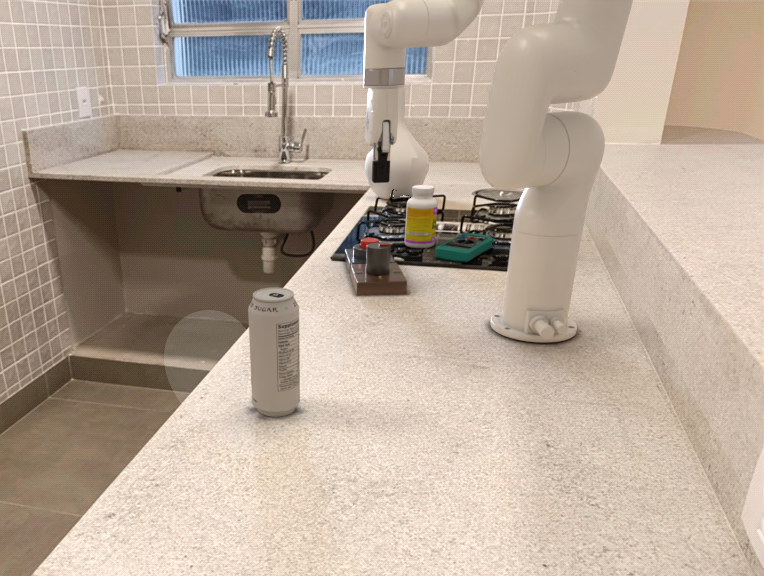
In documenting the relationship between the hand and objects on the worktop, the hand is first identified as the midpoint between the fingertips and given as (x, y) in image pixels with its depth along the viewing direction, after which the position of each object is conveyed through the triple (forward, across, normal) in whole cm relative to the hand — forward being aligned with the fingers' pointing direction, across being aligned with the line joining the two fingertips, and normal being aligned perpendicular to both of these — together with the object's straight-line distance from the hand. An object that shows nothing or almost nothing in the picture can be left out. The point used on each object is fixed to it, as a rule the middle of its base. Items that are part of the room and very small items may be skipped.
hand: (380, 181), depth 136 cm
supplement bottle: (+17, -15, +11) cm, 25 cm away
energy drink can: (+18, +62, -21) cm, 68 cm away
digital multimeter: (+17, -7, +19) cm, 27 cm away
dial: (+14, +13, -2) cm, 19 cm away
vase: (+16, -71, +15) cm, 75 cm away
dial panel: (+17, +13, -2) cm, 21 cm away
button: (+13, 0, -2) cm, 13 cm away
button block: (+17, 0, -2) cm, 17 cm away
